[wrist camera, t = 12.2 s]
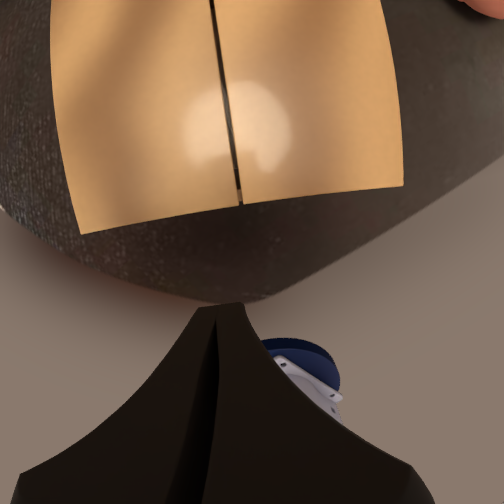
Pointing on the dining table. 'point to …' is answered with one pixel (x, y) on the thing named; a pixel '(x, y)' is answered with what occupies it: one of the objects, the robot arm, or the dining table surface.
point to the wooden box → (141, 110)
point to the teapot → (487, 7)
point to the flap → (310, 96)
